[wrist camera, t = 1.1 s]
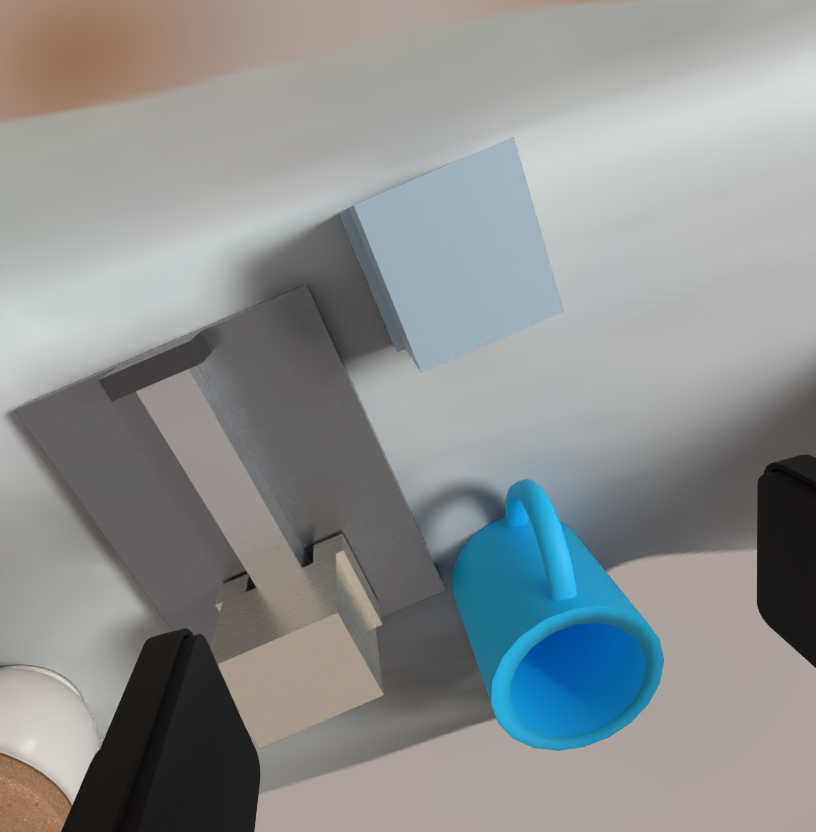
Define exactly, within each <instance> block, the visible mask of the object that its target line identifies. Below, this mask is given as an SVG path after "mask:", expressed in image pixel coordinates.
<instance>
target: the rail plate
mask: <svg viewBox="0 0 816 832" xmlns="http://www.w3.org/2000/svg"><path fill="white" fill-rule="evenodd" d="M15 412H16V413H17V414H18V416H19V417H20V419H21V420H22V421H23V423H24V424H25V426H26V427H27V428H28V430H29V431H30V433H31V434H32V435H33V437H34V438H35V440H36V441H37V442H38V444H39V445H40V447H41V448H42V449H43V451H44V452H45V454H46V455H47V456H48V458H49V459H50V461H51V462H52V463H53V465H54V466H55V467H56V469H57V470H58V472H59V473H60V474H61V476H62V477H63V479H64V480H65V481H66V483H67V484H68V486H69V487H70V488H71V490H72V491H73V493H74V494H75V495H76V497H77V498H78V500H79V501H80V502H81V504H82V505H83V507H84V508H85V509H86V511H87V512H88V514H89V515H90V516H91V518H92V519H93V521H94V522H95V523H96V525H97V526H98V528H99V529H100V530H101V532H102V533H103V535H104V536H105V537H106V539H107V540H108V542H109V543H110V544H111V546H112V547H113V549H114V550H115V551H116V553H117V554H118V556H119V557H120V558H121V560H122V561H123V563H124V564H125V565H126V567H127V568H128V569H129V571H130V572H131V574H132V575H133V576H134V578H135V579H136V581H137V582H138V583H139V585H140V586H141V588H142V589H143V590H144V592H145V593H146V595H147V596H148V597H149V599H150V600H151V602H152V603H153V604H154V606H155V607H156V609H157V610H158V611H159V613H160V614H161V616H162V617H163V618H164V620H165V621H166V623H167V624H168V625H169V627H170V628H171V630H172V631H176V630H180V629H183V628H187V629H189V630H190V631H191V632H192V633H193V635H197V634H202V635H203V636H204V637H205V638H206V640H207V642H208V644H209V646H210V649H211V651H212V653H213V655H214V658H215V660H216V662H217V664H218V667H219V669H220V671H221V673H222V676H223V678H224V680H225V682H226V685H227V687H228V689H229V691H230V693H231V696H232V698H233V700H234V702H235V705H236V707H237V709H238V711H239V714H240V716H241V718H242V720H243V723H244V725H245V727H246V729H247V730H248V732H249V733H250V735H251V736H252V738H253V739H254V740H255V742H256V743H257V745H258V746H259V747H260V748H262V747H264V746H266V745H269V744H271V743H273V742H276V741H278V740H280V739H283V738H285V737H287V736H290V735H292V734H294V733H297V732H299V731H301V730H304V729H306V728H308V727H311V726H313V725H315V724H318V723H320V722H322V721H325V720H327V719H329V718H332V717H334V716H336V715H339V714H341V713H343V712H346V711H348V710H350V709H353V708H355V707H357V706H360V705H362V704H364V703H367V702H369V701H371V700H374V699H376V698H378V697H381V696H383V695H384V692H383V684H382V676H381V668H380V660H379V653H378V645H377V637H376V629H375V628H376V627H378V626H381V625H382V617H385V616H387V615H389V614H392V613H394V612H396V611H399V610H401V609H403V608H406V607H408V606H410V605H413V604H415V603H417V602H420V601H422V600H424V599H427V598H429V597H431V596H434V595H436V594H438V593H441V592H443V591H445V588H444V585H443V582H442V579H441V577H440V574H439V572H438V570H437V568H436V566H435V563H434V561H433V559H432V557H431V555H430V553H429V550H428V548H427V546H426V544H425V542H424V539H423V537H422V535H421V533H420V531H419V528H418V526H417V524H416V522H415V520H414V517H413V515H412V513H411V511H410V509H409V506H408V504H407V502H406V500H405V498H404V496H403V493H402V491H401V489H400V487H399V485H398V482H397V480H396V478H395V476H394V474H393V471H392V469H391V467H390V465H389V463H388V460H387V458H386V456H385V454H384V452H383V449H382V447H381V445H380V443H379V441H378V439H377V436H376V434H375V432H374V430H373V428H372V425H371V423H370V421H369V419H368V417H367V414H366V412H365V410H364V408H363V406H362V403H361V401H360V399H359V397H358V395H357V393H356V390H355V388H354V386H353V384H352V382H351V379H350V377H349V375H348V373H347V371H346V368H345V366H344V364H343V362H342V360H341V357H340V355H339V353H338V351H337V349H336V346H335V344H334V342H333V340H332V338H331V336H330V333H329V331H328V329H327V327H326V325H325V322H324V320H323V318H322V316H321V314H320V311H319V309H318V307H317V305H316V303H315V300H314V298H313V296H312V294H311V292H310V289H309V287H308V285H307V284H305V285H302V286H300V287H298V288H295V289H293V290H291V291H288V292H286V293H284V294H281V295H279V296H277V297H274V298H272V299H270V300H267V301H265V302H263V303H260V304H258V305H256V306H253V307H251V308H249V309H246V310H244V311H241V312H239V313H237V314H234V315H232V316H230V317H227V318H225V319H223V320H220V321H218V322H216V323H213V324H211V325H209V326H206V327H204V328H202V329H199V330H197V331H195V332H192V333H190V334H188V335H185V336H183V337H180V338H178V339H176V340H173V341H171V342H169V343H166V344H164V345H162V346H159V347H157V348H155V349H152V350H150V351H148V352H145V353H143V354H141V355H138V356H136V357H134V358H131V359H129V360H126V361H124V362H122V363H119V364H117V365H115V366H112V367H110V368H108V369H105V370H103V371H101V372H98V373H96V374H94V375H91V376H89V377H87V378H84V379H82V380H80V381H77V382H75V383H73V384H70V385H68V386H65V387H63V388H61V389H58V390H56V391H54V392H51V393H49V394H47V395H44V396H42V397H40V398H37V399H35V400H33V401H30V402H28V403H26V404H24V405H22V406H21V407H19V408H17V409H16V410H15Z"/></svg>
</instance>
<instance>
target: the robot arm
mask: <svg viewBox="0 0 816 832" xmlns="http://www.w3.org/2000/svg"><path fill="white" fill-rule="evenodd" d="M757 606H758V609H759V612H760V614H761V616H762V618H763V619H764V620H765V622H766V623H767V624H768V625H769V626H770V627H771V628H772V629H773V630H774V631H775V632H776V633H777V634H779V635H780V636H781V637H782V638H783V639H784V640H785V641H786V642H787V643H789V644H790V645H791V646H792V647H793V648H794V649H795V650H796V651H798V652H799V653H800V654H801V655H802V656H803V657H804V658H805V659H807V660H808V661H809V662H810V663H811V664H812V665H813V666H814V667H815V668H816V458H815V457H813V456H810V455H799V456H795V457H792V458H788V459H785V460H781V461H778V462H774V463H771V464H769V465H768V466H767V467H766V469H765V470H764V475H762V476H761V477H760V478H759V480H758V514H757ZM259 784H260V764H259V759H258V755H257V752H256V749H255V747H254V745H253V743H252V740H251V738H250V736H249V734H248V731H247V729H246V727H245V725H244V723H243V720H242V718H241V716H240V714H239V711H238V709H237V707H236V705H235V702H234V700H233V698H232V696H231V693H230V691H229V689H228V687H227V685H226V682H225V680H224V678H223V676H222V673H221V671H220V669H219V667H218V664H217V662H216V660H215V658H214V655H213V653H212V651H211V649H210V646H209V644H208V642H207V640H206V638H205V637H204V636H203V635H202V634H197V635H193V633H192V632H191V631H190V630H189V629H187V628H183V629H180V630H176V631H173V632H169V633H166V634H162V635H158V636H155V637H151V638H149V639H148V640H147V641H146V642H145V644H144V646H143V648H142V651H141V653H140V655H139V658H138V660H137V662H136V665H135V667H134V670H133V672H132V674H131V677H130V679H129V681H128V684H127V686H126V689H125V691H124V693H123V696H122V698H121V701H120V703H119V705H118V708H117V710H116V712H115V715H114V717H113V720H112V722H111V724H110V727H109V729H108V731H107V734H106V736H105V739H104V741H103V743H102V746H101V748H100V750H99V751H97V752H96V754H95V756H94V758H93V759H92V761H91V763H90V765H89V767H88V770H87V772H86V774H85V777H84V779H83V781H82V784H81V786H80V788H79V791H78V793H77V795H76V798H75V800H74V802H73V805H72V807H71V809H70V812H69V814H68V816H67V819H66V821H65V823H64V826H63V828H62V830H61V832H254V829H255V820H256V812H257V803H258V794H259Z"/></svg>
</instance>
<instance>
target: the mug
mask: <svg viewBox="0 0 816 832" xmlns="http://www.w3.org/2000/svg"><path fill="white" fill-rule="evenodd" d="M452 593H453V596H454V599H455V601H456V604H457V607H458V610H459V613H460V616H461V619H462V622H463V625H464V627H465V630H466V633H467V636H468V639H469V642H470V645H471V648H472V650H473V653H474V656H475V659H476V662H477V665H478V668H479V671H480V673H481V676H482V679H483V682H484V685H485V688H486V691H487V694H488V696H489V699H490V702H491V705H492V708H493V710H494V713H495V716H496V718H497V721H498V723H499V725H500V726H501V727H502V728H503V729H504V730H505V731H506V732H507V733H509V735H510V736H511V737H512V738H513V739H515V740H518V741H520V742H522V743H525V744H527V745H529V746H531V747H533V748H540V749H549V750H557V751H558V750H565V749H572V748H579V747H585V746H587V745H590V744H593V743H595V742H598V741H600V740H603V739H606V738H608V737H610V736H611V735H613V734H614V733H616V732H617V731H619V730H620V729H622V728H623V727H625V726H626V725H628V724H629V723H631V722H632V721H633V720H634V719H635V718H636V717H637V715H638V714H639V713H640V712H641V711H642V710H643V709H644V708H645V707H646V706H647V705H648V703H649V702H650V700H651V698H652V696H653V694H654V692H655V691H656V689H657V687H658V685H659V683H660V679H661V674H662V668H663V663H664V658H663V653H662V649H661V644H660V640H659V638H658V637H657V635H656V634H655V633H654V631H653V630H652V629H651V627H650V626H649V624H648V623H647V622H646V621H645V619H644V618H643V617H642V616H641V614H640V613H639V612H638V611H637V610H636V608H635V607H634V606H633V605H632V603H631V602H630V601H629V600H628V599H627V597H626V596H625V595H624V593H622V591H621V590H620V589H619V588H618V586H617V585H616V584H615V582H614V581H613V580H612V579H611V577H610V576H609V575H608V574H607V573H606V571H605V570H604V569H603V568H602V566H601V565H600V564H599V563H598V561H597V560H596V559H595V558H594V556H593V555H592V554H591V553H590V552H589V550H588V549H587V548H586V547H585V545H584V544H583V543H582V542H581V540H580V539H579V538H578V537H577V536H576V534H575V533H574V532H573V531H572V529H571V528H570V527H568V526H567V525H565V524H564V523H562V522H560V521H559V519H558V517H557V515H556V512H555V510H554V507H553V505H552V503H551V501H550V500H549V498H548V496H547V495H546V493H545V492H544V490H543V489H542V488H541V487H540V486H539V485H537V484H536V483H535V482H534V481H531V480H522V481H519V482H517V483H515V484H513V485H512V486H511V487H510V488H509V490H508V494H507V497H506V508H505V518H502V519H500V520H497V521H494V522H492V523H490V524H489V525H487V526H486V527H484V528H483V529H482V530H480V531H479V532H477V533H476V534H475V535H473V536H472V537H471V539H470V540H469V541H468V542H467V544H466V545H465V546H464V548H463V549H462V550H461V551H460V553H459V555H458V558H457V560H456V563H455V565H454V568H453V571H452Z"/></svg>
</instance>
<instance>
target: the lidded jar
mask: <svg viewBox="0 0 816 832" xmlns="http://www.w3.org/2000/svg"><path fill="white" fill-rule="evenodd" d="M99 750H100V748H99V735H98V732H97V728H96V725H95V722H94V718H93V716H92V714H91V712H90V710H89V709H88V707H87V706H86V704H85V703H84V701H83V698H82V696H81V694H80V693H79V691H78V690H77V689H76V687H75V686H74V685H73V684H72V683H71V682H70V681H69V680H67V679H66V678H64V677H63V676H61V675H59V674H57V673H55V672H53V671H51V670H48V669H45V668H41V667H36V666H29V665H12V666H5V667H1V668H0V832H61V830H62V828H63V826H64V823H65V821H66V819H67V816H68V814H69V812H70V809H71V807H72V805H73V802H74V800H75V798H76V795H77V793H78V791H79V788H80V786H81V784H82V781H83V779H84V777H85V774H86V772H87V770H88V767H89V765H90V763H91V761H92V759H93V758H94V756H95V754H96V752H97V751H99Z"/></svg>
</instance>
